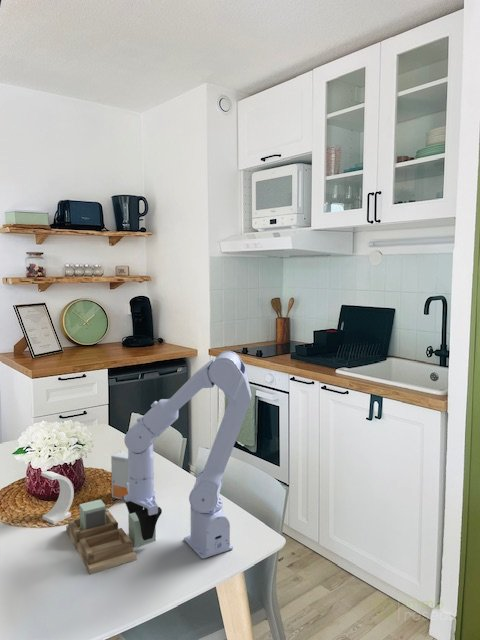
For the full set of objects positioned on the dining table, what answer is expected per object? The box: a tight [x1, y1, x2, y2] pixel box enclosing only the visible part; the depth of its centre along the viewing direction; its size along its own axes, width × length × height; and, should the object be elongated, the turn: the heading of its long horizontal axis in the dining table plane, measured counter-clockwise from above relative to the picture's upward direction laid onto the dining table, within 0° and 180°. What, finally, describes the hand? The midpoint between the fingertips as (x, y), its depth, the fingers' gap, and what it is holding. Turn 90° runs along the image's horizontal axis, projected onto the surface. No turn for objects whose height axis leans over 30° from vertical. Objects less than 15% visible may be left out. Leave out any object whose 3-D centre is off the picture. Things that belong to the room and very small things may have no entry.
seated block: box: [78, 499, 107, 531], centre depth 119 cm, size 4×5×6 cm
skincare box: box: [110, 450, 128, 501], centre depth 139 cm, size 6×4×12 cm
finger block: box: [127, 513, 157, 547], centre depth 118 cm, size 4×5×6 cm
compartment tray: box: [65, 509, 137, 575], centre depth 115 cm, size 20×10×3 cm, turn 32°
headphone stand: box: [40, 470, 75, 525], centre depth 128 cm, size 5×6×12 cm
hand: (142, 531), depth 118 cm, fingers open, 6 cm apart
